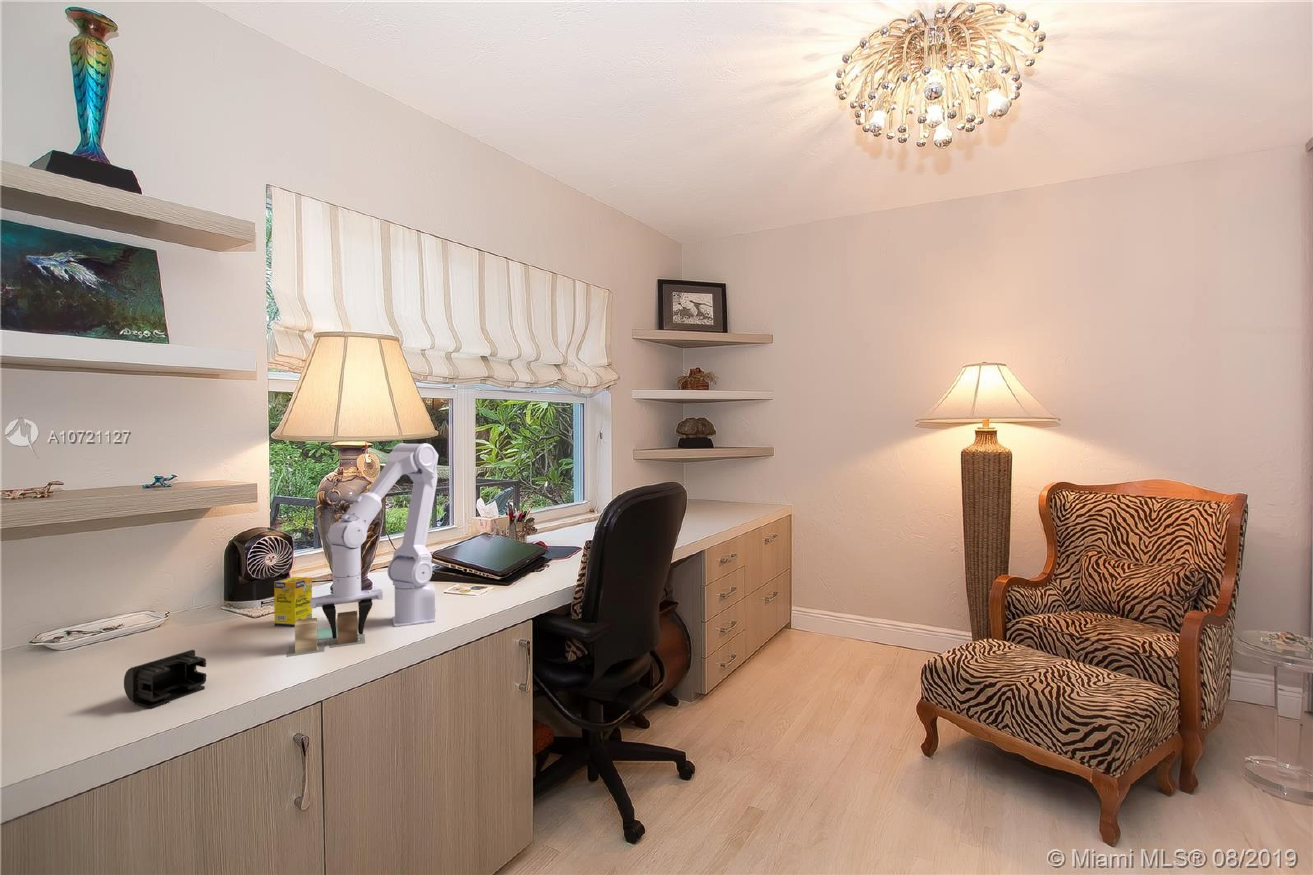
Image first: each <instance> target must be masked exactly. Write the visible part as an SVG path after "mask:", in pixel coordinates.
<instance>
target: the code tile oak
mask: <svg viewBox="0 0 1313 875" xmlns="http://www.w3.org/2000/svg"><path fill="white" fill-rule="evenodd" d="M325 647H326V641H320V642H317V650H316V651H308V652H301V653H295V645H291V646H288V648H287V649H288V650H287V653H286V658H287V657H294V656H296V657H297V656H303V655H309V654H311V655H312V654H317V653H324V652H325V649H326V648H325Z"/></svg>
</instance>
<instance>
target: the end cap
mask: <svg viewBox="0 0 1313 875" xmlns="http://www.w3.org/2000/svg"><path fill="white" fill-rule="evenodd" d="M197 667H200V668H206V667H207V659H206V658H205V657H201V656H196V650H195V649H190V650H189V649H188V650H187V651H182V652H180V653H177V654H173V655H170V656H165V657H164V658H160V659H156V660H153V661H149V662H145V663H142V664H139V665H136V666H132V667H130V668H128V669H127V670H126V672H125V674H124V677H123V688H124V693H125V695H126V697H127V698H128V700H129V701H130V702H132V703H133V704H134V705H135V706H137V705H138V706H137V707H140V708H143V709H147V710H153V709H156V708H160V707H162V706H164V705H166V704H167V703H168V704H170V703H171V702H173V701H176V700H178V699H180V698H184V697H187V696H189V695H193V694H195V693H198V692H201V691H203V690H205V689H206V687H205V685H204V684H206V682H207V676H208V675H207V674H206V673H205V672H200V671H198V670H197ZM168 704H167V705H168ZM161 705H162V706H161Z"/></svg>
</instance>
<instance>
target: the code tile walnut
mask: <svg viewBox="0 0 1313 875" xmlns="http://www.w3.org/2000/svg"><path fill="white" fill-rule="evenodd" d="M365 635H366V634H365V633H363V634H361V635H359V634H358V642H354V643H347V644H339V645H338V638H335V639H333V638H331V639H329V640H330V642H329V643H330V644H329V649H332V648H333V649H334V648H339V647H340V648H341V647H347V646H355V645H356V646H357V645H362V644H366V637H365Z"/></svg>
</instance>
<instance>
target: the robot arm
mask: <svg viewBox="0 0 1313 875" xmlns="http://www.w3.org/2000/svg"><path fill="white" fill-rule="evenodd" d="M439 456H440V455H439V453H438V452H437V450H436V449H435V448H434V446H433V445H431V444H430V443H426V442H424V443H404V442H401V443H400V442H399V443H397V444H396V445H394V447H393V448H392V450H391V451H390V452H389V453H388V455H387V462H386V463H385V465H384V466H383V467H382V470H381V471H380V472H379V474H378V475H377V476H376V477H377V478H376V479H375V481H373V484H372V485H371V487H370V488H369V490H368V492H363V493H362V492H361V493H360V494H359V495H356V496H355V498H353V503H352V505H350V507H349V508H348V509H347V511H346V512H345V513H344V514H343V515H342V516H341V519H340V520H338V521H336V522H334V523H333V524H332V525H331V526H330V527H329V530H328V532H327V534H325V538H326V541H327V543H328V544H329V546H330V552H331V554H332V555H331V556H332V558H331V559H332V560H331V561H332V593H331V594H326V595H321V596H316V597H312V598H310V608H311V609H312V610H313V609H317V608H322V611H323V613H324V615H325V618H326V619H327V621H328V623H329V626H330V627H331V630H332V637H333V639H335V638H337V632H336V626H337V618H336V617H337V615H336V614H337V610H336V606H335V605H345V604H351V603H358V606H357V607H358V622H357V626H358V635H361V634H364V629H365V624H366V621H367V618H368V616H369V614H370V612H371V609H372V606H373V601H375V600H383V599H384V594H383V593H384V592H383V589H382V588H381V589H368V590H367V589H366V590H362V559H361V558H362V557H361V556H362V555H361V554H362V551H361V549H362V548H361V547H362V545H363V543H364V542H366V540H367V537H368V530H369V527H370V525H371V523H372V522H373V520H374V519H375V518H376V517H377V515H378V514H379V512H380V511H381V509H382V508H383V504H382V500H383V499H384V497H385V496H386V495H387V493H388V492H389V491H390V490H391V488H392V487H393V486H394V485H395V484H396V483H397V481H398V480H399V479H400V477H401V476H403V475H407V476H408V477H409V478H410V480H411V481H412V482H413V485H412V491H411V496H410V500H409V501H410V502H409V506H408V513H407V518H406V522H405V523H406V524H405V527H404V534H403V539H402V544H401V545H400V546H399V547H398V548H396V550H394V552H393V556H392V559H391V561H390V562H389V564H388V566H387V575H388V578H389V579H390V581H392V586H394V616H392V618H391V619H392V623H393V627H395V628H396V627H405V626H412V625H419V624H426V623H434V622H436V609H437V608H436V607H437V606H436V590H435V584H434V583H432V582H430V580H431V578H432V575H433V565H432V559H433V556H432V554H431V553H430V551H429V550H428V549H427V546H426V545H427V540H428V535H429V528H430V523H431V517H432V511H433V506H434V502H435V494H436V490H437V483H438V478H439V477H438V469H437V466H438V460H439ZM411 557H412V558H411ZM429 582H430V583H429Z"/></svg>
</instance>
